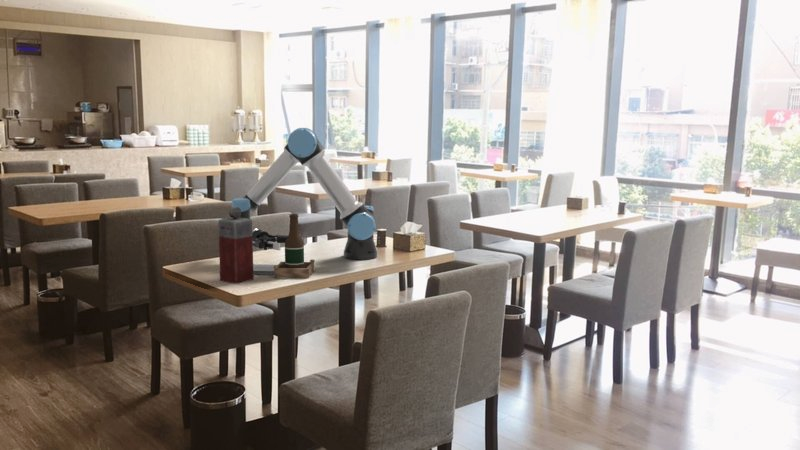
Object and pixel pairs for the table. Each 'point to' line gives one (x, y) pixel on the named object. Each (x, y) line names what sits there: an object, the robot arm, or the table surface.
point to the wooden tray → (294, 270)
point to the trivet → (263, 269)
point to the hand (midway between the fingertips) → (292, 244)
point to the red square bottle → (235, 248)
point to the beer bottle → (294, 245)
